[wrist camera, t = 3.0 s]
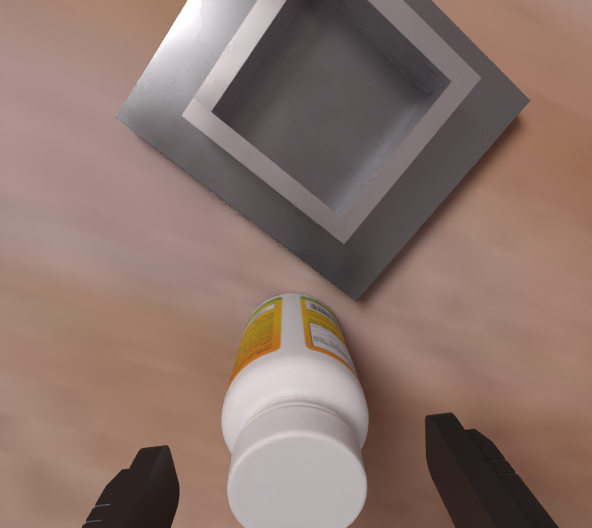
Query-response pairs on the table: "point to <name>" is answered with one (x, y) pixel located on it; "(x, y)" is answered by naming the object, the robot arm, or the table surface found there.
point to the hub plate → (324, 119)
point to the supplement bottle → (295, 420)
